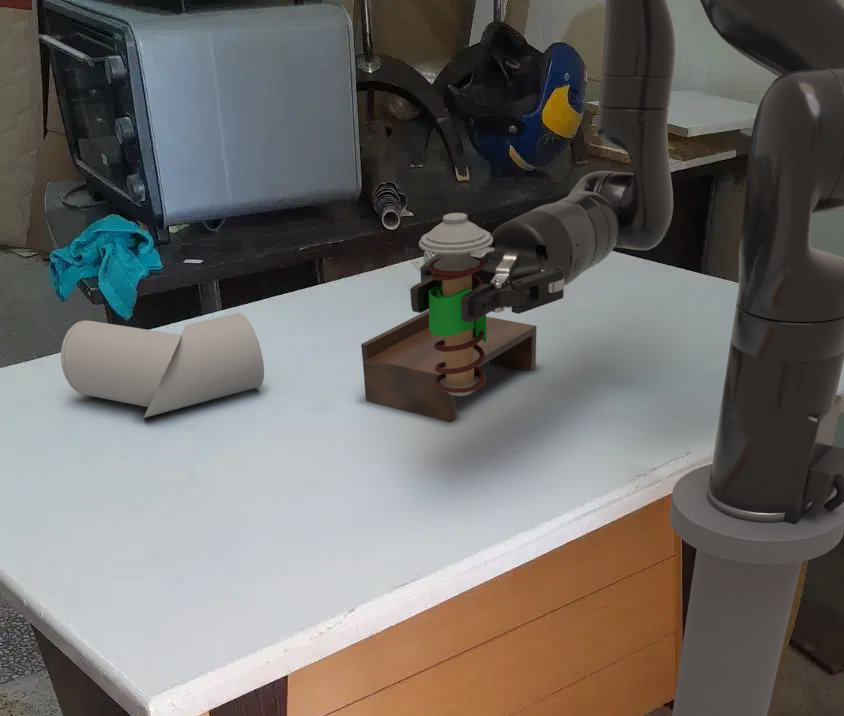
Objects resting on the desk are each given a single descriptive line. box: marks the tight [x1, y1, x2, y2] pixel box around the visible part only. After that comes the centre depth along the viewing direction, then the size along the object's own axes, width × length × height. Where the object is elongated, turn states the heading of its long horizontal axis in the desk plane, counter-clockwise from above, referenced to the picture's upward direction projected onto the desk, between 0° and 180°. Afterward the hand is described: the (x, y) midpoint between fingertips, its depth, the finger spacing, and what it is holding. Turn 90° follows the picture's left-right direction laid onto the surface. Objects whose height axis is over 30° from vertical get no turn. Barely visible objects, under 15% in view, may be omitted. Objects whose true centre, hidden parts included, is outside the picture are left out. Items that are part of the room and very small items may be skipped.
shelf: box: [360, 309, 537, 423], centre depth 118 cm, size 12×18×6 cm, turn 144°
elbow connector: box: [60, 312, 265, 419], centre depth 118 cm, size 18×10×20 cm
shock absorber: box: [418, 212, 493, 397], centre depth 90 cm, size 6×6×15 cm
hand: (439, 305), depth 88 cm, fingers closed on shock absorber, 4 cm apart
